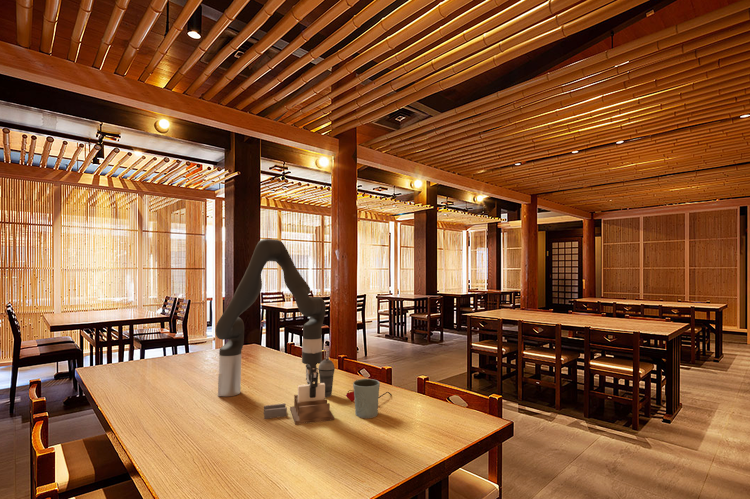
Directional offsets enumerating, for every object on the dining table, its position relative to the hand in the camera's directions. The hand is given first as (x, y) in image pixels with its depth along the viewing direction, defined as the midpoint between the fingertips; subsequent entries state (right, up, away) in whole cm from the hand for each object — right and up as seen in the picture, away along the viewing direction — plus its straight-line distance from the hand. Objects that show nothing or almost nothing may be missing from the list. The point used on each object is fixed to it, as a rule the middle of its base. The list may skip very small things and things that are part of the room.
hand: (311, 395), depth 148 cm
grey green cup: (+21, -8, +1) cm, 22 cm away
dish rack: (0, -7, 0) cm, 7 cm away
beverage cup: (+3, -9, +22) cm, 24 cm away
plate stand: (-14, -7, -1) cm, 15 cm away
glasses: (+22, -9, +20) cm, 31 cm away
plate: (0, -6, 0) cm, 6 cm away
